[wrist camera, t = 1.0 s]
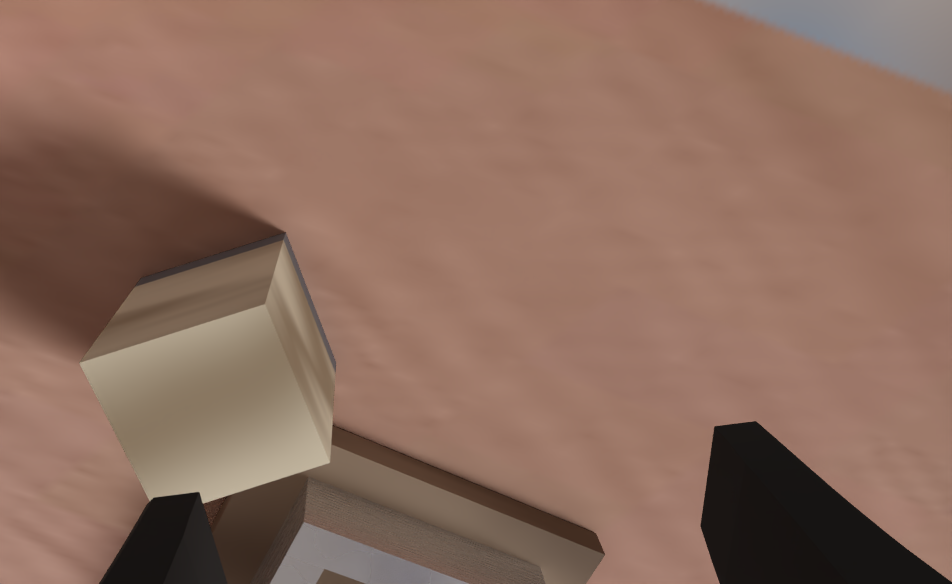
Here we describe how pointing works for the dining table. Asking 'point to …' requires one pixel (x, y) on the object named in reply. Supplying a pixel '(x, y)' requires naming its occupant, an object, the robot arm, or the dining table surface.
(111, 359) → the sleeve block
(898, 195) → the dining table surface
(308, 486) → the collar board
